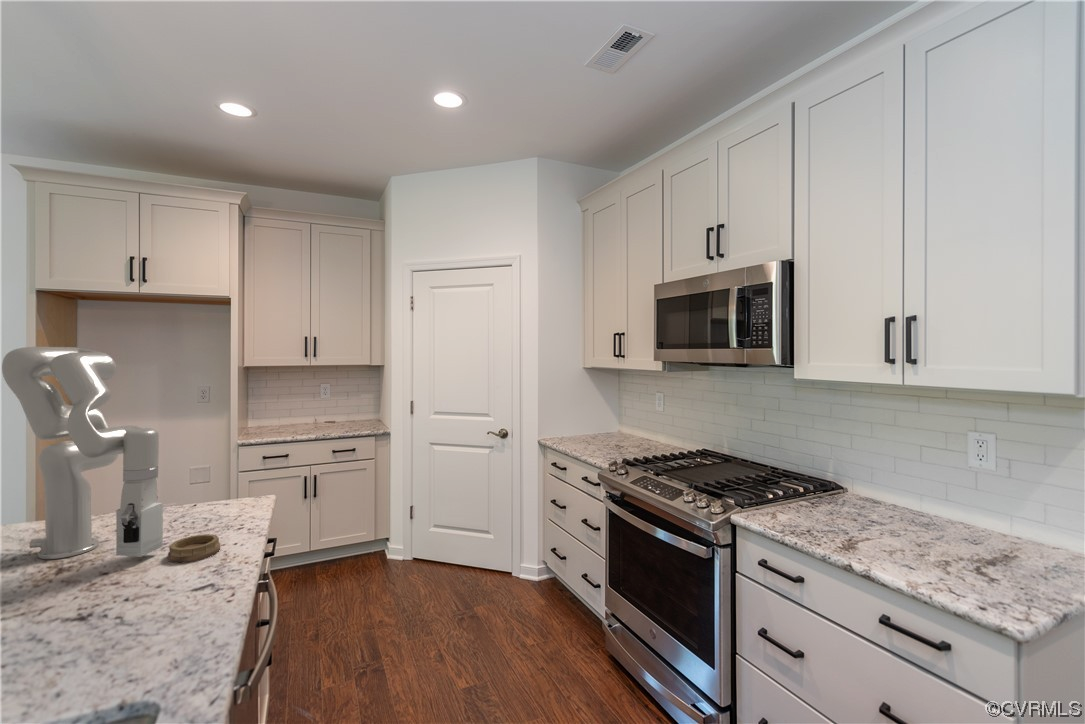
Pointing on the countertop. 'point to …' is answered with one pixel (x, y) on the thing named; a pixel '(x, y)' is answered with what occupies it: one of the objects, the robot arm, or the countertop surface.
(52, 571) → the countertop surface
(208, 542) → the coaster tray
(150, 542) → the supplement box
